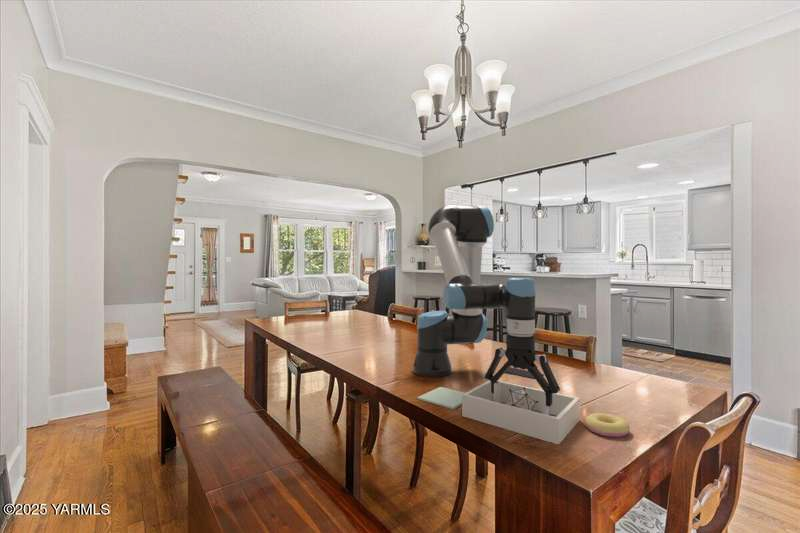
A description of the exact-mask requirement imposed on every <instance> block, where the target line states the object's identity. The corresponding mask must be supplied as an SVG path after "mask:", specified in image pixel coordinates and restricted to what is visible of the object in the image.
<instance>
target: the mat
mask: <svg viewBox="0 0 800 533" xmlns="http://www.w3.org/2000/svg"><path fill="white" fill-rule="evenodd" d="M464 393H465V392H463V391H458V390H454V389H451V388H447V387H443V386H439V387H436V388H434V389H433V390H431V391H427V392H426V393H423V394H422V395H419V396H417V400H419V401H423V402H427V403H430V404H433V405H437V406H440V407H444V408H446V409H451V410H455V409H457V408H458V407H460V406H461V405H462V395H463V394H464Z"/></svg>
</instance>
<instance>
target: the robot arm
mask: <svg viewBox="0 0 800 533" xmlns="http://www.w3.org/2000/svg"><path fill="white" fill-rule="evenodd" d="M427 227H428V228H427V229H428V231H427V232H428V235H429V239H430V240H431V241H432V242H433V243H434V245H435V247H436V252H437V255H438V258H439V261H440V264H441V268H442V271H443V274H444V277H445V281H446V284H445V285H444V288H443V292H442V293H443V294H442V297H443V304H444V306H445V308H447V309H449V310H452V311H451V314H448V312H447V311H446V310H433V311H428V312H423V313H421V314H420V315H418V317H417V324H416V328H417V329H416V330H417V338H416V339H417V345H416V346H417V352H416V355H415V358H414V361H413V364H412V372H413V373H414V374H415V373H416V375H417V374H418V376H421V375H422V377H426V376H428V377H427V378H429V377H430V378H439V377H440V378H441V377H446V376H449V375H450V374H452V373H453V372H452V370H453V369H452V367H453V366H452V363H451V360H450V357H449V354H448V345H473V344H479V343H482V341H483V340H484V339H485V337H486V334H487V329H488V323H487V317H486V315H485V314H484V313H483V310H485V309H488V310H489V309H504V310H505V311H506V312H505V315H506V316H505V317H506V321H505V322H506V324H505V325H506V329H505V330H506V333H507V334H506V336H505V337H506V339H505V342H506V343H505V344H506V345H505V346H506V348H505V349H503V347H498V348H496V349H495V350H494V351H495V352H494V357H493V359H492V361H491V363H490V365H489V366H488V369H487V371H486V373H485V375H484V379H485V380H488V381H489V380H490V381H491V392H492V393H494V400H493V401H495V402H499V403H502V402H501V382H500V381H501V380H499V379H500V378H501V377H502V376H503V375H504V374H506V373H505V372H506V371H507V370H508V369H509V368H510V367H512V368H517V369H521V370H526V371H529V372H530V373H531V374H532V375H533V377H534V378H535V379H534V380H535V381H536V382H537V383H538V385H539V386H540V388H541V390H544V393H543V394H542V412H541V413H542V414H546V415H550V414H549V407H550V406H551V405H552V394H553V393H555V394H556V393H559V391H561V388H560V386H559V384H558V381H557V379H556V377H555V375H554V373H553V371H552V369H551V367H550V364H549V362H548V355H547V354H546V353H544V354H536V336H535V335H534V334H535V333H536V319H535V318H536V289H535V288H536V284H535V280H534V279H533V278H531V277H509V278H508V279H507V280H506V282H494V283H493V282H492V283H491V282H490V283H481V276H482V260H483V258H482V257H483V247H484V246H485V244H487V243H488V238H490V237H492V235H493V233H494V229H495V228H494V227H495V222H494V216H493V214H492V211H491V210H490V208H488V207H487V206H483V205H481V206H480V205H454V204H453V205H452V204H450V205H444V206H442V207H440V208H439V209H437V210H435V212H434V213H433V215H432V216H431V218H430V220H429V222H428V226H427ZM482 309H483V310H482ZM504 356H505V357H506V359H507V361H506V362H505V363H504V364H503V365H502V366H501V367H500V369H499V370H498V371H497V372H496V369H497V367H498V366H499V364H500V363H501V360H502V358H503V357H504ZM536 361H537V362H538V364H539V366H540V367H541V371H542V372H543V373H541V371H540V370H539V369H538V366H537V365H536V363H535V362H536ZM494 373H495V374H494ZM542 374H544V376H545V377H544V376H543V375H542ZM497 381H498V382H497Z"/></svg>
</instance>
